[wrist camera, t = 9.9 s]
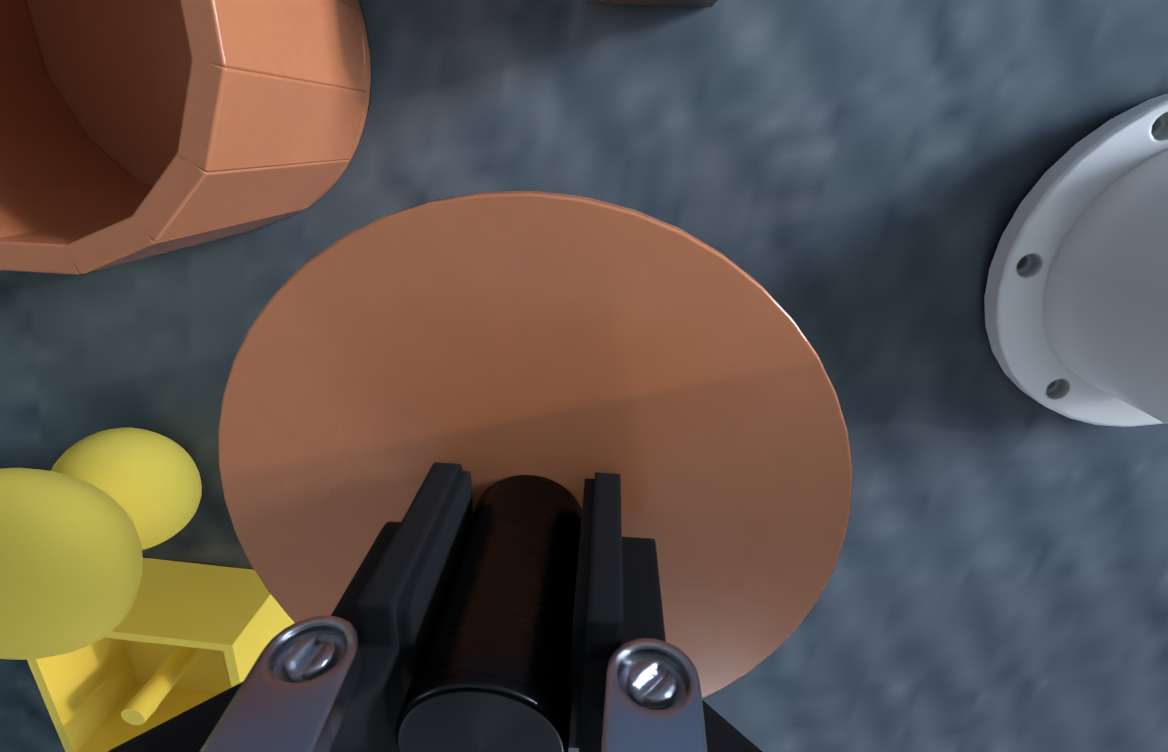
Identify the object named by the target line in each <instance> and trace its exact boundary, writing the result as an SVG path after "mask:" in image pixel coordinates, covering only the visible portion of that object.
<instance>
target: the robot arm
mask: <svg viewBox="0 0 1168 752" xmlns="http://www.w3.org/2000/svg"><path fill="white" fill-rule="evenodd" d="M984 306H985V327H986V331H987V335H988V338H989V342H990V346H991V349H992V352H993V354H994V356H995V358H996V359H997V361H998V363H999V365H1000V366H1001V368H1002V370H1003V372H1004V373H1005V374H1006V375H1007V376H1008V377H1009V378H1010V379H1011V381H1012V382H1013V383H1014V384H1015V385H1016V386H1017V387H1018V388H1019V389H1020V390H1021V391H1022V392H1024V393H1025V394H1027V395H1028V396H1030V397H1031V398H1033V399H1034V400H1036V401H1037V402H1039V403H1040V404H1042V405H1043V406H1045V407H1047V408H1049V409H1051V410H1053V411H1055V412H1057V413H1059V414H1061V415H1063V416H1066V417H1068V418H1070V419H1074V420H1078V421H1082V422H1086V423H1090V424H1095V425H1104V426H1120V427H1132V426H1142V425H1153V424H1161V423H1165V424H1167V425H1168V93H1167V94H1164V95H1161V96H1158V97H1155V98H1152V99H1149V100H1147V101H1145V102H1143V103H1141V104H1139V105H1137V106H1135V107H1133V108H1131V109H1129V110H1127V111H1125V112H1123V113H1121V114H1120V115H1118V116H1116V117H1114V118H1112V119H1110V120H1109V121H1107V122H1106V123H1104V124H1103V125H1102V126H1100V127H1099V128H1097V129H1096V130H1094V131H1093V132H1092V133H1090V134H1089V135H1087V136H1086V137H1085V138H1083V139H1082V140H1080V141H1079V142H1077V143H1076V144H1075V145H1074V146H1073V147H1072V148H1071V149H1070V150H1068V151H1067V152H1066V153H1065V154H1064V155H1063V156H1062V157H1061V158H1060V159H1059V160H1058V161H1057V162H1056V163H1055V164H1054V165H1052V166H1051V167H1050V168H1049V169H1048V170H1047V171H1046V172H1045V173H1044V174H1043V176H1042V177H1041V178H1040V179H1039V181H1038V182H1037V183H1036V184H1035V186H1034V187H1033V188H1032V189H1031V191H1030V192H1029V193H1028V194H1027V196H1026V197H1025V198H1024V199H1023V201H1022V202H1021V203H1020V205H1019V206H1018V208H1017V210H1016V212H1015V213H1014V215H1013V217H1012V219H1011V220H1010V222H1009V224H1008V225H1007V227H1006V229H1005V231H1004V232H1003V234H1002V236H1001V239H1000V241H999V244H998V247H997V249H996V252H995V254H994V257H993V260H992V262H991V265H990V268H989V274H988V279H987V285H986V291H985V296H984ZM472 516H473V505H472V482H471V473H470V471H463V468H462V465H461V464H456V463H440V462H435V463H434V464H433V465H432V467H431V468H430V470H429V472H428V474H427V476H426V477H425V479H424V481H423V483H422V485H421V487H420V488H419V490H418V492H417V494H416V496H415V498H414V499H413V501H412V503H411V505H410V507H409V508H408V510H407V512H406V514H405V516H404V518H403V519H402V521H401V522H393V521H389V522H387V523H386V524H385V525H384V526H383V528H382V529H381V531H380V533H379V534H378V536H377V538H376V539H375V541H374V543H373V545H372V546H371V548H370V550H369V551H368V553H367V555H366V556H365V558H364V560H363V562H362V563H361V565H360V567H359V568H358V570H357V572H356V573H355V575H354V577H353V579H352V580H351V582H350V584H349V585H348V587H347V589H346V590H345V592H344V594H343V596H342V597H341V599H340V601H339V602H338V604H337V606H336V607H335V609H334V611H333V613H332V614H331V616H329V615H327V616H315V617H311V618H308V619H304V620H301V621H298V622H296V623H294V624H292V625H290V626H289V627H287V628H285V629H284V630H282V631H281V632H280V633H278V634H277V635H276V636H275V637H273V638H272V639H271V641H270V642H269V643H268V644H267V645H266V647H265V648H264V649H263V651H262V652H261V654H260V655H259V657H258V659H257V660H256V662H255V663H254V665H253V667H252V668H251V670H250V671H249V673H248V675H247V676H246V678H245V679H244V681H243V682H241V683H239V684H237V685H235V686H233V687H231V688H229V689H228V690H226V691H224V692H222V693H220V694H218V695H216V696H214V697H212V698H210V699H208V700H206V701H204V702H202V703H200V704H198V705H196V706H195V707H193V708H191V709H189V710H187V711H185V712H183V713H181V714H179V715H177V716H175V717H173V718H171V719H169V720H167V721H165V722H163V723H162V724H160V725H158V726H156V727H154V728H152V729H150V730H148V731H146V732H144V733H142V734H140V735H138V736H136V737H134V738H132V739H130V740H129V741H127V742H125V743H123V744H121V745H119V746H117V747H115V748H113V749H111V750H110V751H108V752H399V751H398V749H397V745H396V739H395V726H396V721H397V718H398V715H399V713H400V710H401V707H402V705H403V702H404V699H405V696H406V694H407V691H408V688H409V686H410V683H411V680H412V678H413V675H414V672H415V669H416V667H417V664H418V661H419V659H420V656H421V653H422V651H423V648H424V645H425V642H426V640H427V637H428V634H429V632H430V629H431V626H432V624H433V621H434V618H435V615H436V613H437V610H438V607H439V605H440V602H441V599H442V597H443V594H444V591H445V588H446V586H447V583H448V580H449V578H450V575H451V572H452V570H453V567H454V564H455V561H456V559H457V556H458V553H459V551H460V548H461V545H462V543H463V540H464V537H465V534H466V532H467V529H468V526H469V524H470V521H471V518H472ZM570 678H571V682H572V692H573V694H572V707H571V721H570V735H569V747H571V748H579V752H762V751H761V750H760V749H758V748H757V747H756V746H755V745H754V744H753V743H751V742H750V741H749V740H748V739H747V738H746V737H744V736H743V735H742V734H741V733H740V732H739V731H738V730H736V729H735V728H734V727H733V726H732V725H731V724H729V723H728V722H727V721H726V720H725V719H724V718H723V717H721V716H720V715H719V714H718V713H717V712H716V711H714V710H713V709H712V708H711V707H710V706H709V705H708V704H706V703H705V702H704V701H703V700H702V694H701V684H700V679H699V675H698V672H697V668H696V667H695V665H694V664H693V662H692V661H691V659H690V658H689V657H688V656H687V655H686V654H685V653H684V652H683V651H682V650H680V649H679V648H678V647H676V646H674V645H672V644H670V643H668V642H666V638H665V629H664V619H663V609H662V599H661V590H660V580H659V570H658V560H657V550H656V542H655V539H652V538H637V537H622V525H621V475H620V474H616V473H600V472H595V479H587V478H585V482H584V494H583V506H582V517H581V529H580V541H579V553H578V564H577V576H576V588H575V599H574V612H573V627H572V648H571V669H570Z"/></svg>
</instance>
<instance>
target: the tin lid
mask: <svg viewBox="0 0 1168 752" xmlns="http://www.w3.org/2000/svg"><path fill="white" fill-rule="evenodd" d="M218 448H219V469H220V475H221V481H222V487H223V492H224V498H225V502H226V505H227V508H228V511H229V514H230V517H231V520H232V524H233V527H234V530H235V533H236V535H237V537H238V539H239V541H240V543H241V545H242V547H243V549H244V551H245V553H246V555H247V558H248V560H249V562H250V564H251V565H252V567H253V568H254V570H255V571H256V573H257V574H258V576H259V578H260V579H261V581H262V582H263V584H264V585H265V587H266V588H267V590H268V591H269V593H270V594H271V595H272V596H273V598H274V599H275V600H276V601H277V602H278V604H279V605H280V606H281V607H282V608H283V610H284V611H285V612H286V613H287V614H288V616H289V617H290V618H291V619H292V620H293V621H294V622H295V623H296V622H298V621H301V620H304V619H308V618H311V617H315V616H327V615H329V616H331V614H332V613H333V611H334V609H335V607H336V606H337V604H338V602H339V601H340V599H341V597H342V596H343V594H344V592H345V590H346V589H347V587H348V585H349V584H350V582H351V580H352V579H353V577H354V575H355V573H356V572H357V570H358V568H359V567H360V565H361V563H362V562H363V560H364V558H365V556H366V555H367V553H368V551H369V550H370V548H371V546H372V545H373V543H374V541H375V539H376V538H377V536H378V534H379V533H380V531H381V529H382V528H383V526H384V525H385V524H386V523H387V522H389V521H393V522H401V521H402V519H403V518H404V516H405V514H406V512H407V510H408V508H409V507H410V505H411V503H412V501H413V499H414V498H415V496H416V494H417V492H418V490H419V488H420V487H421V485H422V483H423V481H424V479H425V477H426V476H427V474H428V472H429V470H430V468H431V467H432V465H433V464H434V463H435V462H440V463H456V464H461V465H462V468H463V471H470V473H471V482H472V505H473V516H472V518H471V521H470V524H469V526H468V529H467V532H466V534H465V537H464V540H463V543H462V545H461V548H460V551H459V553H458V556H457V559H456V561H455V564H454V567H453V570H452V572H451V575H450V578H449V580H448V583H447V586H446V588H445V591H444V594H443V597H442V599H441V602H440V605H439V607H438V610H437V613H436V615H435V618H434V621H433V624H432V626H431V629H430V632H429V634H428V637H427V640H426V642H425V645H424V648H423V651H422V653H421V656H420V659H419V661H418V664H417V667H416V669H415V672H414V675H413V678H412V680H411V683H410V686H409V688H408V691H407V694H406V696H405V699H404V702H403V705H402V707H401V710H400V713H399V715H398V718H397V721H396V726H395V739H396V745H397V749H398V751H399V752H568V748H569V735H570V721H571V707H572V694H573V692H572V682H571V678H570V669H571V648H572V627H573V612H574V599H575V588H576V576H577V564H578V553H579V541H580V529H581V517H582V506H583V494H584V482H585V478H587V479H595V472H600V473H616V474H620V475H621V525H622V537H637V538H652V539H655V542H656V550H657V560H658V570H659V580H660V590H661V599H662V609H663V619H664V629H665V638H666V642H668V643H670V644H672V645H674V646H676V647H678V648H679V649H680V650H682V651H683V652H684V653H685V654H686V655H687V656H688V657H689V658H690V659H691V661H692V662H693V664H694V665H695V667H696V668H697V672H698V675H699V679H700V684H701V694H702V698H704V697H706V696H708V695H711V694H713V693H715V692H717V691H719V690H721V689H722V688H724V687H726V686H727V685H729V684H730V683H732V682H734V681H735V680H737V679H738V678H740V677H742V676H743V675H745V674H746V673H748V672H749V671H751V670H752V669H753V668H754V667H756V666H757V665H758V664H759V663H761V662H762V661H763V660H764V659H766V658H767V657H768V656H769V655H771V654H772V653H773V652H774V651H775V650H776V649H777V648H778V647H779V646H780V645H781V644H782V643H783V642H784V641H785V640H786V639H787V638H788V637H789V636H790V635H791V634H792V633H793V632H794V631H795V630H796V629H797V628H798V626H799V625H800V623H801V622H802V621H803V619H804V618H805V617H806V615H807V614H808V613H809V611H810V610H811V609H812V607H813V606H814V605H815V603H816V602H817V600H818V598H819V597H820V595H821V593H822V591H823V589H824V587H825V585H826V584H827V582H828V580H829V578H830V576H831V574H832V573H833V570H834V567H835V565H836V562H837V559H838V556H839V554H840V551H841V548H842V545H843V542H844V540H845V535H846V529H847V524H848V519H849V514H850V509H851V496H852V461H851V453H850V446H849V438H848V431H847V427H846V424H845V420H844V417H843V414H842V410H841V407H840V404H839V400H838V397H837V394H836V391H835V389H834V387H833V385H832V383H831V381H830V379H829V377H828V375H827V373H826V371H825V369H824V367H823V364H822V362H821V360H820V358H819V356H818V355H817V353H816V352H815V350H814V349H813V347H812V346H811V344H810V343H809V342H808V340H807V339H806V337H805V336H804V334H803V333H802V331H801V330H800V329H799V327H798V326H797V324H796V323H795V321H794V320H793V319H792V318H791V317H790V316H789V314H788V313H787V312H786V311H785V310H784V309H783V308H782V307H781V306H780V305H779V304H778V303H777V302H776V301H775V300H774V299H773V297H772V296H771V295H770V294H769V293H768V292H767V291H766V290H765V289H764V288H763V287H762V286H761V285H760V284H759V283H758V282H757V281H756V280H755V279H754V278H752V277H751V276H750V275H748V274H747V273H746V272H745V271H743V270H742V269H741V268H740V267H738V266H737V265H736V264H735V263H733V262H732V261H731V260H730V259H728V258H727V257H726V256H724V255H723V254H722V253H721V252H719V251H717V250H716V249H714V248H712V247H710V246H709V245H707V244H705V243H704V242H702V241H700V240H698V239H697V238H695V237H693V236H692V235H690V234H688V233H687V232H685V231H683V230H681V229H680V228H678V227H675V226H673V225H670V224H668V223H665V222H663V221H661V220H658V219H656V218H653V217H651V216H648V215H646V214H644V213H641V212H639V211H636V210H634V209H630V208H626V207H623V206H619V205H615V204H611V203H607V202H603V201H599V200H596V199H592V198H588V197H583V196H574V195H566V194H558V193H549V192H541V191H502V192H481V193H475V194H469V195H463V196H456V197H450V198H444V199H438V200H435V201H431V202H428V203H425V204H422V205H419V206H415V207H412V208H409V209H406V210H403V211H399V212H396V213H393V214H390V215H387V216H385V217H383V218H381V219H378V220H376V221H374V222H372V223H370V224H368V225H366V226H364V227H362V228H360V229H358V230H356V231H354V232H352V233H350V234H348V235H346V236H344V237H342V238H341V239H339V240H338V241H336V242H335V243H333V244H332V245H330V246H329V247H328V248H326V249H325V250H323V251H322V252H320V253H319V254H318V255H316V256H315V257H313V258H312V259H310V260H309V261H307V262H306V263H305V264H304V265H303V266H302V267H301V268H300V269H299V270H298V271H297V272H296V273H295V274H294V275H293V276H292V277H291V278H290V279H289V280H288V281H286V282H285V283H284V284H283V285H282V286H281V287H280V288H279V289H278V290H277V291H276V292H275V294H274V295H273V296H272V298H271V299H270V300H269V302H268V303H267V305H266V306H265V307H264V309H263V310H262V311H261V313H260V314H259V315H258V317H257V318H256V319H255V321H254V322H253V323H252V325H251V327H250V329H249V331H248V333H247V335H246V337H245V339H244V341H243V343H242V345H241V347H240V349H239V351H238V353H237V355H236V357H235V359H234V362H233V365H232V368H231V371H230V374H229V378H228V381H227V384H226V387H225V390H224V394H223V399H222V406H221V414H220V421H219V428H218Z"/></svg>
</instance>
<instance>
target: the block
mask: <svg viewBox="0 0 1168 752" xmlns="http://www.w3.org/2000/svg"><path fill="white" fill-rule="evenodd" d="M583 1H584V2H595V3H621V4H647V5H673V6H699V7H712V6H714V4H715V3H716V1H717V0H583Z"/></svg>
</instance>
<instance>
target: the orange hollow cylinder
mask: <svg viewBox="0 0 1168 752" xmlns="http://www.w3.org/2000/svg"><path fill="white" fill-rule="evenodd" d="M370 82H371V74H370V52H369V46H368V39H367V32H366V26H365V22H364V18H363V15H362V11H361V7H360V3H359V0H0V270H3V271H21V272H38V273H56V274H74V275H80V274H86V273H90V272H94V271H97V270H101V269H105V268H109V267H113V266H117V265H120V264H124V263H128V262H132V261H136V260H140V259H143V258H147V257H151V256H155V255H159V254H163V253H167V252H170V251H174V250H178V249H182V248H186V247H190V246H193V245H197V244H201V243H205V242H209V241H213V240H216V239H220V238H224V237H228V236H232V235H236V234H239V233H243V232H247V231H251V230H255V229H258V228H261V227H263V226H265V225H268V224H270V223H273V222H275V221H278V220H281V219H284V218H287V217H290V216H292V215H294V214H296V213H298V212H300V211H302V210H304V209H307V208H308V207H309V206H311V205H312V204H313V203H314V202H315V201H317V200H318V199H319V198H321V197H322V196H323V195H324V194H325V193H326V192H327V191H328V190H329V189H330V188H331V187H332V186H333V185H334V184H335V183H336V181H337V180H338V179H339V177H340V176H341V174H342V173H343V172H344V170H345V169H346V168H347V166H348V164H349V162H350V160H351V158H352V156H353V154H354V152H355V150H356V148H357V146H358V143H359V140H360V137H361V134H362V131H363V129H364V125H365V120H366V115H367V110H368V105H369V95H370Z"/></svg>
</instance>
